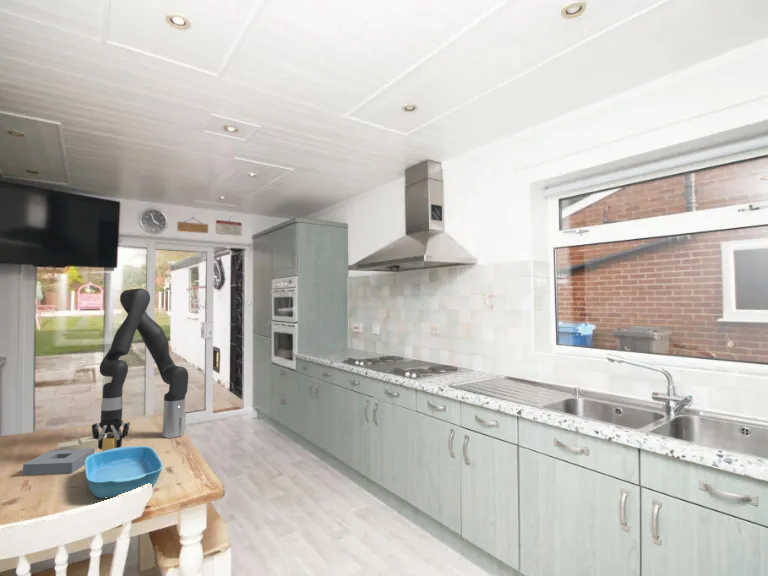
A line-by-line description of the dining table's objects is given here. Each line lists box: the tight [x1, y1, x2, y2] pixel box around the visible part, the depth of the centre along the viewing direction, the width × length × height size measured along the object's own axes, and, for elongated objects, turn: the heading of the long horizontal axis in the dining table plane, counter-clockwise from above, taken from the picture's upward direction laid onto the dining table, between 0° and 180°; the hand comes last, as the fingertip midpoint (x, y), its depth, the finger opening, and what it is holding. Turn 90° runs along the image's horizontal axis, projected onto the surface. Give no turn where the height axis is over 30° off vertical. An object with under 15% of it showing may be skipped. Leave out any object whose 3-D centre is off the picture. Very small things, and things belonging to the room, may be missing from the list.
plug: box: [101, 432, 117, 452], centre depth 174 cm, size 4×4×8 cm
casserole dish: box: [84, 445, 164, 499], centre depth 148 cm, size 37×22×7 cm, turn 38°
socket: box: [22, 448, 96, 476], centre depth 160 cm, size 16×16×4 cm
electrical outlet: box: [57, 433, 108, 450], centre depth 182 cm, size 7×4×18 cm
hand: (109, 448), depth 174 cm, fingers open, 5 cm apart
